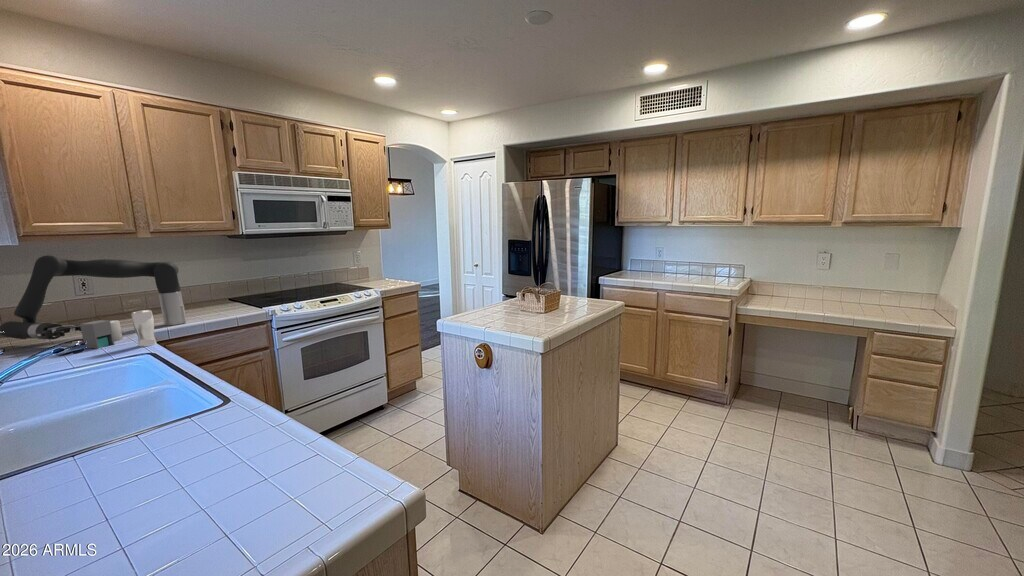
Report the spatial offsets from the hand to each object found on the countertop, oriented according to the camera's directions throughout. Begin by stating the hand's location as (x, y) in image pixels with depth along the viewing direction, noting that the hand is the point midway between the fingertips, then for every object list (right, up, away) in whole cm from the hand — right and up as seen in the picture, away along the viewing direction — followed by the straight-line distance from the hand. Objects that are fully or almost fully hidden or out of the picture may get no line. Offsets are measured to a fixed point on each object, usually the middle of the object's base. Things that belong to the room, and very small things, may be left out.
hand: (75, 331), depth 181 cm
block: (+11, -7, -1) cm, 13 cm away
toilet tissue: (+5, -6, +10) cm, 12 cm away
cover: (+11, -7, -1) cm, 13 cm away
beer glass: (+32, -6, 0) cm, 33 cm away
